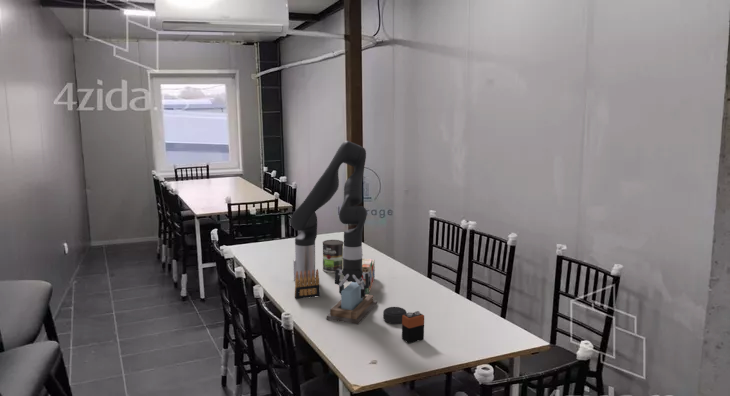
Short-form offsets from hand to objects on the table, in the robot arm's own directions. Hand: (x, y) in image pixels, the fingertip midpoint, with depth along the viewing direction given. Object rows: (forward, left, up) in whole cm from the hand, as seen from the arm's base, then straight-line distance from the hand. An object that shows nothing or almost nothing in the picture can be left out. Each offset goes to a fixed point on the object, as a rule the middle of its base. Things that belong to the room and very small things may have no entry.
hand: (352, 296), depth 217 cm
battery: (+29, -17, -7) cm, 34 cm away
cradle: (0, 0, -6) cm, 7 cm away
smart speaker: (+18, -2, -7) cm, 19 cm away
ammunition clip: (-24, +9, -7) cm, 26 cm away
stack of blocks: (-6, +32, -7) cm, 34 cm away
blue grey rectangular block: (0, 0, -5) cm, 5 cm away
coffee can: (-29, +49, -7) cm, 57 cm away
